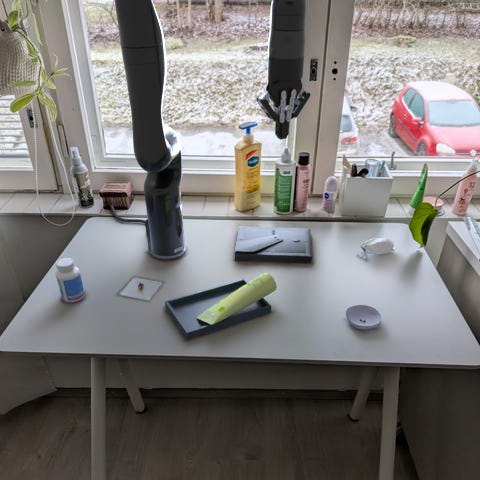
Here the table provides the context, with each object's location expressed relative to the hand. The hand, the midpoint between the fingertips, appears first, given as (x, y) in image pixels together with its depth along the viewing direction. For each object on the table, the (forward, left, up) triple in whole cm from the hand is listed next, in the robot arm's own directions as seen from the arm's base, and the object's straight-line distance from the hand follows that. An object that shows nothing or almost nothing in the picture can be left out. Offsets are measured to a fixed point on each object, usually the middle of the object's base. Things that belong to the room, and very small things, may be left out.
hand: (281, 138), depth 114 cm
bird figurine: (+22, +18, -33) cm, 44 cm away
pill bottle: (-35, -39, -33) cm, 62 cm away
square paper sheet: (-23, -28, -33) cm, 49 cm away
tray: (-2, -26, -33) cm, 42 cm away
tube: (+7, -15, -28) cm, 33 cm away
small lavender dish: (+29, -13, -33) cm, 46 cm away
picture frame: (-4, +7, -33) cm, 34 cm away
